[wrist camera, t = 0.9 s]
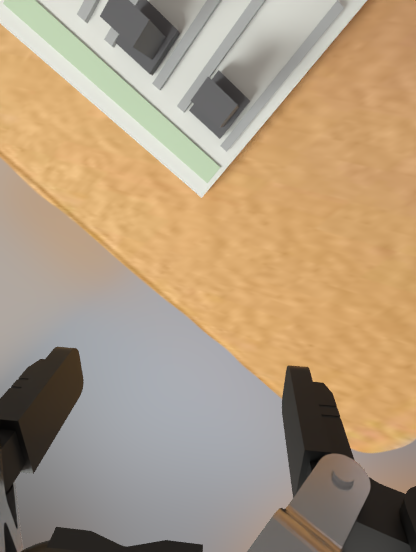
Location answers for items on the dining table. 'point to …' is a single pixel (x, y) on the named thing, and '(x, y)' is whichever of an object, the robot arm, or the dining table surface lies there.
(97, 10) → the panel
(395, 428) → the dining table surface
